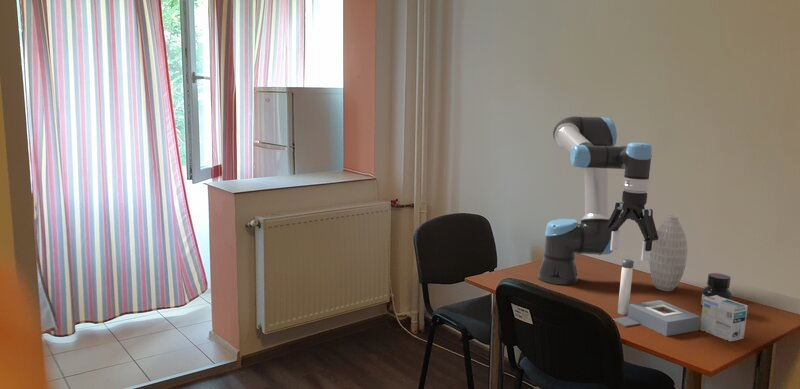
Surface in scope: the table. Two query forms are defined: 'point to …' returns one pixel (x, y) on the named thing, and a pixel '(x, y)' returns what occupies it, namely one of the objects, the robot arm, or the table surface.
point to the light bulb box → (723, 318)
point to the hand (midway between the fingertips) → (628, 255)
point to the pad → (626, 321)
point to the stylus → (625, 286)
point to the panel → (664, 317)
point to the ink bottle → (717, 286)
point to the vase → (668, 255)
